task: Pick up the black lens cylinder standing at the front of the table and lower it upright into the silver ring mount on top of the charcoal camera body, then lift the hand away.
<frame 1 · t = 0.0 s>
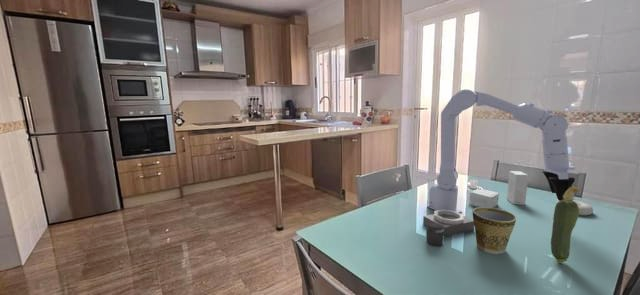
hand: (559, 196, 85), 11 cm above the table, tool pointing down, fingers open, 7 cm apart
vegetable: (559, 261, 69), on the table
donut: (573, 212, 100), on the table
ceramic cup: (490, 246, 77), on the table
lens: (434, 242, 79), on the table
skincare box: (515, 202, 109), on the table
small box: (483, 205, 107), on the table
camera body: (447, 227, 88), on the table
teacup and saucer: (478, 189, 128), on the table
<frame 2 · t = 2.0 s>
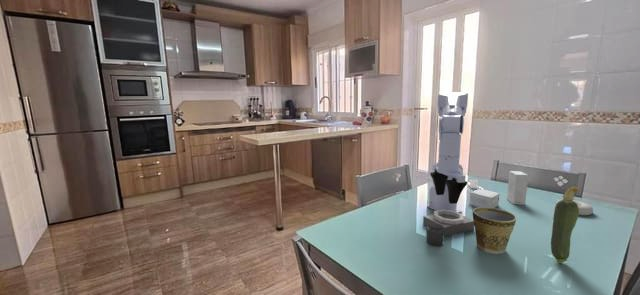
hand: (446, 198, 84), 11 cm above the table, tool pointing down, fingers open, 7 cm apart
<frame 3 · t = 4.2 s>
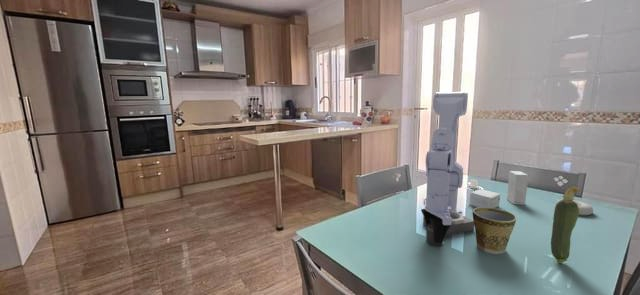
hand: (434, 237, 79), 1 cm above the table, tool pointing down, fingers closed on lens, 4 cm apart
lens: (434, 242, 79), on the table, touching gripper
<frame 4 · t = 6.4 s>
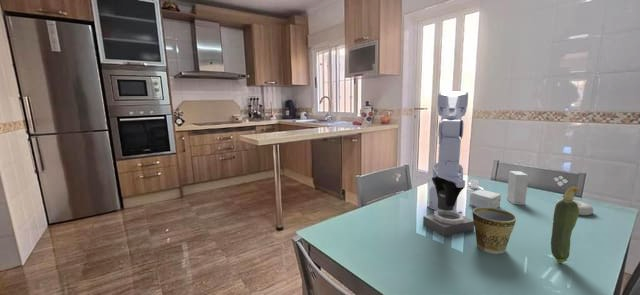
hand: (445, 202, 84), 9 cm above the table, tool pointing down, fingers closed on lens, 4 cm apart
lens: (445, 207, 84), point 8 cm above the table, touching gripper
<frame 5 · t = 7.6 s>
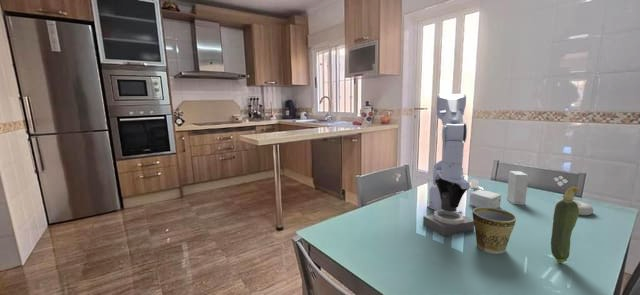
hand: (449, 204, 87), 8 cm above the table, tool pointing down, fingers closed on lens, 4 cm apart
lens: (448, 208, 87), point 6 cm above the table, touching gripper
when the fingers open (5 cm above the table, at t = 8.5 s): lens stays where it is, resting on camera body.
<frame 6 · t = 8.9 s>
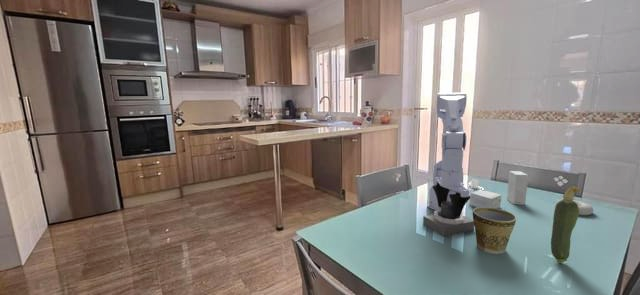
hand: (448, 211, 87), 5 cm above the table, tool pointing down, fingers open, 7 cm apart
lens: (448, 218, 88), point 3 cm above the table, touching camera body
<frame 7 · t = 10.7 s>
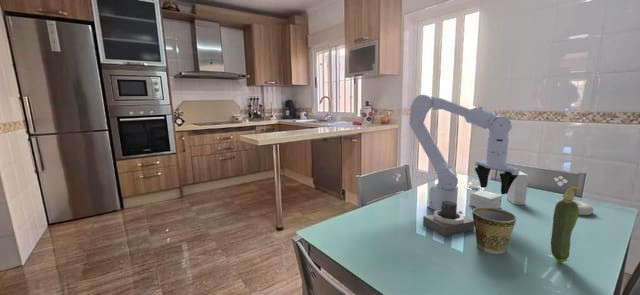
hand: (493, 190, 94), 9 cm above the table, tool pointing down, fingers open, 7 cm apart
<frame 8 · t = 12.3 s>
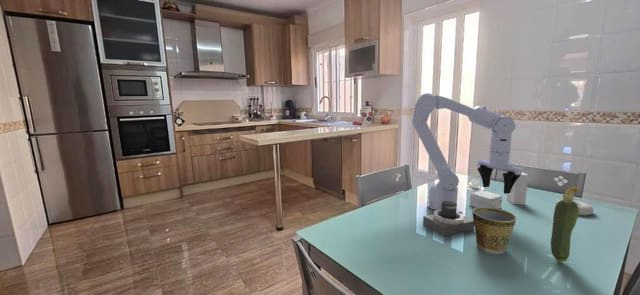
hand: (496, 189, 95), 9 cm above the table, tool pointing down, fingers open, 7 cm apart
at the end: lens 0.1 cm off-centre on the camera body, point 3.1 cm above the camera body's base; lens tilted 2°; the gripper is holding nothing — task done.
